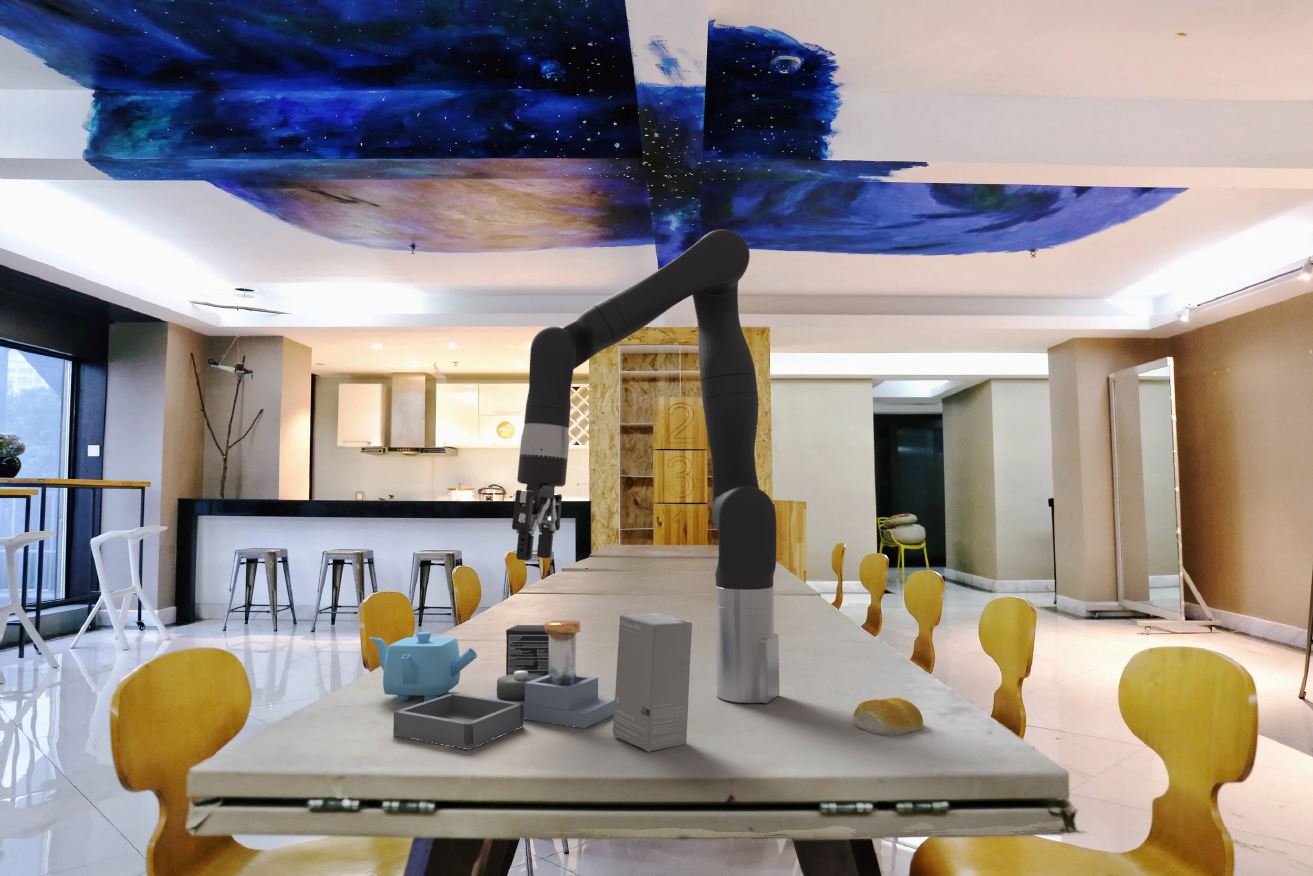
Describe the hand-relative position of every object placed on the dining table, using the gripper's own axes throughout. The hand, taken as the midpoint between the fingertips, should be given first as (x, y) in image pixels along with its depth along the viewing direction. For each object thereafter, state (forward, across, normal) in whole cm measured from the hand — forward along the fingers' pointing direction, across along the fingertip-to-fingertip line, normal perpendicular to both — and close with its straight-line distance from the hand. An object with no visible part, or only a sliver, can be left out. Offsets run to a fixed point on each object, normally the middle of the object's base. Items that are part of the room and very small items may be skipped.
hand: (534, 558), depth 115 cm
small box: (+22, +9, 0) cm, 24 cm away
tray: (+23, -14, +3) cm, 27 cm away
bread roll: (+18, 0, -54) cm, 57 cm away
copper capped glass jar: (+20, -4, -8) cm, 21 cm away
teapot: (+24, +1, +18) cm, 30 cm away
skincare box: (+21, -12, -23) cm, 34 cm away
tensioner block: (+22, -3, -5) cm, 23 cm away
